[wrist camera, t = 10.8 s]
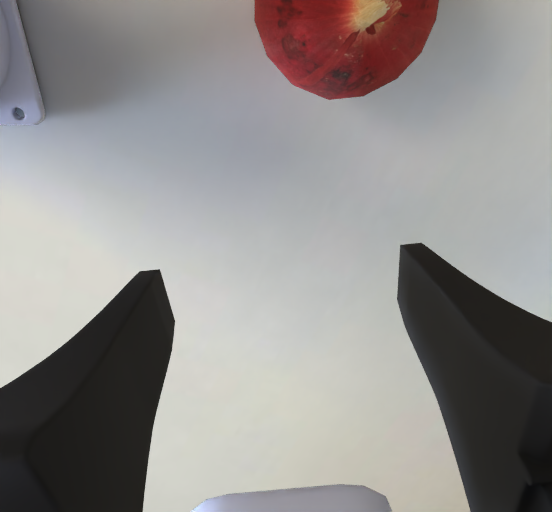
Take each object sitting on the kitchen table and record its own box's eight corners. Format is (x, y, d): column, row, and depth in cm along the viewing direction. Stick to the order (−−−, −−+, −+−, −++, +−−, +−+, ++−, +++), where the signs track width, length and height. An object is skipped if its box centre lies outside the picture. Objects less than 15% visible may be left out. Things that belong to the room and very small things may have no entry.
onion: (361, 93, 20) (414, 162, 13) (235, 44, 19) (223, 92, 12) (430, -58, 17) (544, -68, 10) (287, -129, 16) (309, -193, 9)
